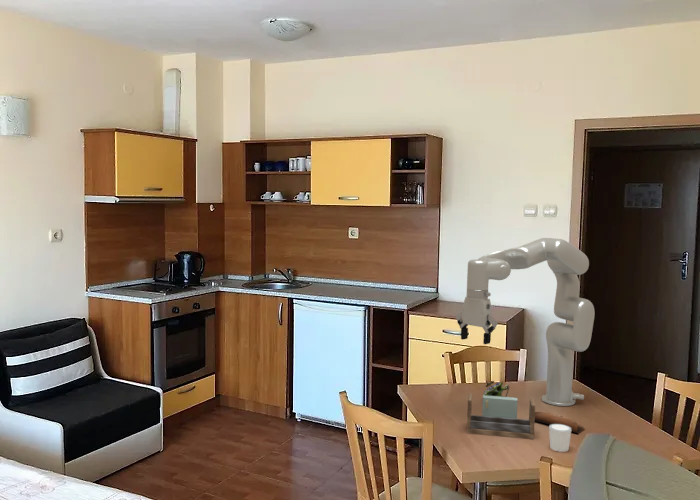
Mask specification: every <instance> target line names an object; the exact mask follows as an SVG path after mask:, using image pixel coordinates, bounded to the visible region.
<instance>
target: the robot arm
mask: <svg viewBox="0 0 700 500" xmlns="http://www.w3.org/2000/svg"><path fill="white" fill-rule="evenodd" d="M544 262H547V266H548V267H549V268H550V270H551V272H552V273H553V274H554V276H555V278H556V289H555V290H556V291H555V297H554V305H553V313H554V315H555V317H556V318H559V319H562V320H565V321H570V322H573V324H570V323H567V322H566V323H565V322H560V321H555V322H552V323H550V324H549V325H548V326H547V328H546V331H545V340H546V345H547V366H546V367H547V368H546V369H547V370H546V390H545V394H543V395H542V396H541V400H542V401H543V402H544V403H546V404H549V405H552V406H558V407H570V406H573V405H575V404H576V400H582V401H584V399H585V395H584V394H583V393H582V394H580V392H574V391H573V389H572V388H573V365H574V357H573V353H572V351H575V352H581V353H582V352H584V351H586V350H587V349H588V348H589V346H590V343H591V341H592V340H591V339H592V336H593V335H592V333H593V328H594V321H595V306H594V304H593V302H591V300H589V299H588V298H587V299H586V298H582V297H580V295H579V294H580V286H581V285H580V280H579V277H578V276H579V275H583V274H585V273H586V272H587V271H588V270H589V266H590V260H589V258H588V256H587V255H586V254H585V253H584V252H583V251H581V250H580V249H579V248H577V247H576V246H575V245H574V244H571V243H570V242H569V241H566V240H565V239H562V238H552V237H541V238H538V239H536V240H533V241H531V242H528V243H526V244H523V245H521V246H517V247H512V248H507V249H504V250H498V251H495V252H490V253H488V254H486V255H482V256H481V257H479V258H477V259H470V260H469V261H468V262H467V271H466V272H467V274H466V296H465V297H464V300H463V301H464V302H463V306H462V312H460V313H458V314H455V318H456V322H457V325H459V329H460V339H461V340H462V341H463V340H467V339H468V337H469V336H468V335H469V328H468V326H472V327H473V326H474V327H478V328H482V329H483V331H484V333H483V341H482V343H483V345H489V344H491V341H492V338H491V337H492V336H491V335H492V333H493V332H494V330H496V328H497V325H498V323H499V321H497V320H496V319H495V318H493V317H492V315H493V314H492V313H493V312H492V304H491V299H490V298H489V297H491V292H489V280H493V281H494V280H495V281H503V280H505V279H507V278H508V277H510V275H511V271H512V270H525V269H529V268H531V267H533V266H535V265H538V264H541V263H544Z"/></svg>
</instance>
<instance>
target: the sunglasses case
mask: <svg viewBox="0 0 700 500" xmlns="http://www.w3.org/2000/svg"><path fill="white" fill-rule="evenodd" d="M534 422H536V423H541V424H547V425H549V426H550V425H551V424H563V425H567V426H569V427H571V432H573V433H575V434H577V435H580V434H581V433H583V432H584V431H586V430H587V428H586V427H585V426H583V425H581V424H580V423H578V422H576V420H573V419H571V418H570V417H563V416H562V415H558V414H554V413H551V412H547V411H535V421H534Z"/></svg>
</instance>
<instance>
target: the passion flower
mask: <svg viewBox="0 0 700 500" xmlns="http://www.w3.org/2000/svg"><path fill="white" fill-rule="evenodd" d="M494 383H495V380H490V381H488V382H486V384H485V388H486V389H485V390H483V395H487V396H499V397H508V393H509V390H510V386H509V384H505V385H504V381H500V382H496V383H495V384H494ZM503 385H504V387H503ZM487 387H488V388H487ZM503 391H506V394H505V395H503Z"/></svg>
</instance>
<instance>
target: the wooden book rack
mask: <svg viewBox="0 0 700 500" xmlns="http://www.w3.org/2000/svg"><path fill="white" fill-rule="evenodd" d="M472 400H473V393H471V392H469V393H468V396H467V416H466V422H467V423H466V434H472V435H473V434H474V435H484V436H493V437H505V438H519V439H527V440H528V439H529V440H534V439H535V422H536V421H535V412H536V404H535V400H534V397H529V406H528V407H529V408H528V409H529V411H528V413H529V414H528V419H523V418H517V419H513V418H501V417H490V416H482V415H475V414H472V408H473V407H472V406H473V405H472V404H473V401H472Z"/></svg>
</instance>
